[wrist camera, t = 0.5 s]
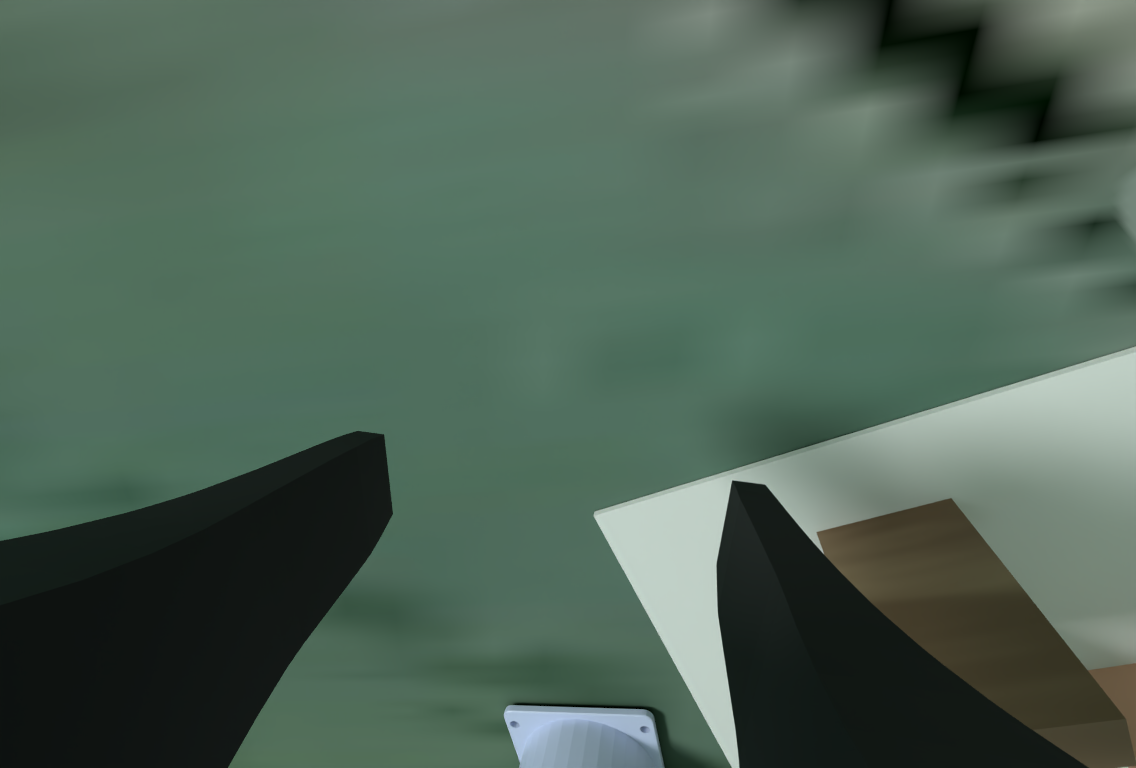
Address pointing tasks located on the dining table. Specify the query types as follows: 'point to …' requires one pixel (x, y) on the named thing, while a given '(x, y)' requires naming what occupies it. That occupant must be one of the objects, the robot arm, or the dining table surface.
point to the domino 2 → (1121, 692)
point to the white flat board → (918, 477)
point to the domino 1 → (979, 624)
